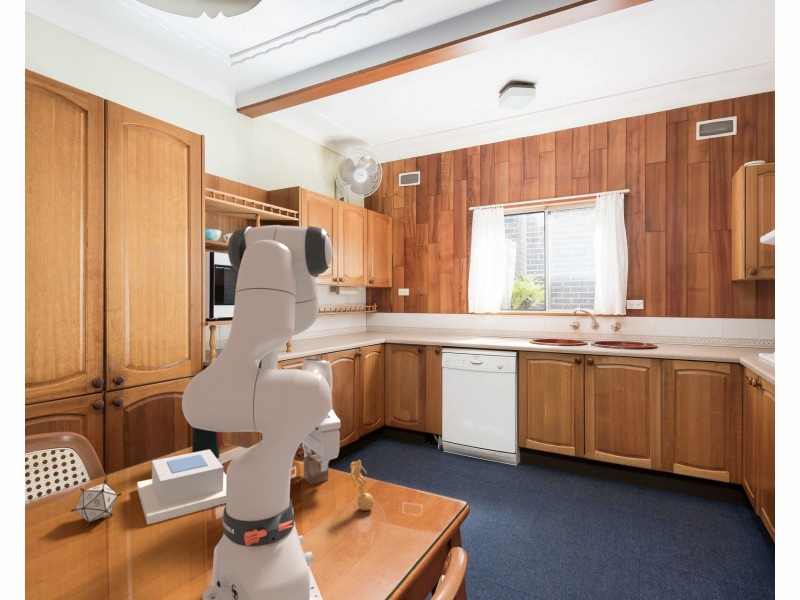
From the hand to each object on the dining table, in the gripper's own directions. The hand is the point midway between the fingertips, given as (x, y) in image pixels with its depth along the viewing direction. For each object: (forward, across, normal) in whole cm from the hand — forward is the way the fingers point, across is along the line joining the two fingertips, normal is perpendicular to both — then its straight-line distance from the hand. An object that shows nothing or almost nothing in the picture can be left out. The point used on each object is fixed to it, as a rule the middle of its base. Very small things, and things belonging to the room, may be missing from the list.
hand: (315, 464), depth 122 cm
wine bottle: (+4, -31, -21) cm, 37 cm away
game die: (+4, -9, -50) cm, 51 cm away
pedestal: (+4, -10, -31) cm, 33 cm away
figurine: (+4, +22, +2) cm, 22 cm away
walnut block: (+4, 0, 0) cm, 4 cm away
